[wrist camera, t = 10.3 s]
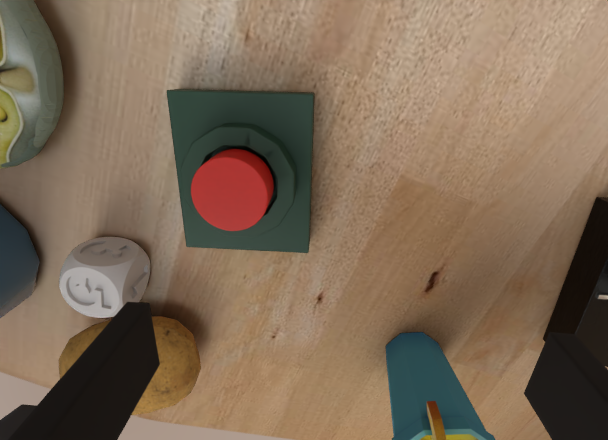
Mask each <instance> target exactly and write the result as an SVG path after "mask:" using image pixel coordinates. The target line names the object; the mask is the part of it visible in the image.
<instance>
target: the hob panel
mask: <svg viewBox="0 0 608 440" xmlns="http://www.w3.org/2000/svg"><path fill="white" fill-rule="evenodd" d="M549 332H554V333H567V334H575V335H576V337H577V338H578V339H579V340H580V341H581V342H582V343H583V344H584V345H585V346H586V347H587V348H588V349H589V350H590V351H591V353H592V354H593V355H594V356H595V357H596V358H597V359H598V360H599V361H600V362H601V363H602V364H603V365H604V366H608V198H606V197H597V198H596V200H595V203H594V205H593V208H592V211H591V213H590V216H589V219H588V221H587V224H586V227H585V229H584V232H583V234H582V237H581V240H580V242H579V245H578V248H577V250H576V253H575V256H574V258H573V261H572V263H571V266H570V269H569V271H568V274H567V277H566V279H565V282H564V285H563V287H562V290H561V292H560V295H559V298H558V300H557V303H556V306H555V308H554V311H553V314H552V316H551V319H550V321H549V324H548V327H547V329H546V332H545V335H544V337H543V340H544V341H545V342H546V340H547V337H548V335H549Z"/></svg>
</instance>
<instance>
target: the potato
mask: <svg viewBox="0 0 608 440" xmlns="http://www.w3.org/2000/svg"><path fill="white" fill-rule="evenodd" d="M110 321H111V320H109V321H105V322H102V323H99V324H96V325H93V326H91V327H89V328H87V329H85V330H84V331H82V332H80V333H78V334H77V335H75V336H74V337H72V338H71V339H70V340H69V341H68V343H67V345H66V347H65V349H64V350H63V352H62V354H61V356H60V358H59V373H60V379H61V378H62V376H63V375H64V374H65V373H66V372H67V371H68V370H69V368H70V367H71V366H72V365H73V364H74V363H75V361H76V360H77V359H78V358H79V357H80V356H81V354H82V353H83V352H84V351H85V350H86V349H87V348H88V346H89V345H90V344H91V343H92V342H93V341H94V339H95V338H96V337H97V336H98V335H99V334H100V332H101V331H102V330H103V329H104V328H105V327H106V326H107V324H108V323H109V322H110ZM152 321H153V327H154V333H155V339H156V344H157V350H158V356H159V361H160V365H159V367H158V369H157V370H156V372H155V374H154V376H153V377H152V379H151V381H150V383H149V384H148V386H147V388H146V390H145V392H144V393H143V395H142V397H141V399H140V400H139V402H138V404H137V406H136V407H135V409H134V411H133V413H132V414H131V415H135V414H145V413H150V412H153V411H156V410H159V409H162V408H166V407H170V406H173V405H175V404H176V403H178V402H179V401H181V400H182V399H183V398H185V397H186V396H187V395H188V394H189V393H191V391H192V389H193V387H194V385H195V383H196V381H197V378H198V375H199V372H200V369H201V366H200V358H199V353H198V350H197V346H196V343H195V340H194V337H193V334H192V333H191V332H190V331H189V330H188V329H186V328H185V327H184V326H183V325H182V324H181V323H180V322H179V321H177V320H175V319H170V318H166V317H161V316H155V317H152Z"/></svg>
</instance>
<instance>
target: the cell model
mask: <svg viewBox="0 0 608 440" xmlns="http://www.w3.org/2000/svg"><path fill="white" fill-rule="evenodd" d="M63 99H64V82H63V72H62V65H61V59H60V55H59V51H58V48H57V45H56V42H55V40H54V37H53V35H52V33H51V31H50V29H49V27H48V25H47V24H46V22H45V20H44V18H43V17H42V15H41V13H40V11H39V9H38V7H37V6H36V4H35V2H34V0H0V168H8V167H14V166H17V165H19V164H21V163H23V162H25V161H27V160H29V159H31V158H33V157H34V156H36V155H37V154H38V153H39V152H40V151H41V150H42V148H43V147H44V145H45V143H46V141H47V139H48V138H49V136H50V135H51V134H52V132H53V131H54V129H55V127H56V125H57V123H58V120H59V117H60V114H61V111H62V106H63Z"/></svg>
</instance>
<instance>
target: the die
mask: <svg viewBox="0 0 608 440" xmlns="http://www.w3.org/2000/svg"><path fill="white" fill-rule="evenodd" d="M149 276H150V260H149V257H148V256H147V254H146V253H145V251H144V250H143V249H142V248H141V247H140V246H139V245H137V244H136V243H134V242H133V241H131V240H128V239H125V238H120V237H101V238H95V239H91V240H88V241H86V242H83V243H81V244H80V245H78V246H77V247H75V248H74V249H73V250H72V251H71V253H70V254H69V255H68V257H67V258H66V260H65V262H64V264H63V266H62V269H61V273H60V278H59V287H60V291H61V293H62V296H63V298H64V299H65V301H66V302H67V303H68V304H69V305H70V306H71V307H72V308H73V309H75V310H76V311H78V312H80V313H82V314H84V315H87V316H90V317H96V318H107V317H113V316H115V315H116V314H117V313H118V312H119V310H120V309H121V308H122V307H123V306H124V305H125V304H126V302H139V301H140V299H141V298H142V296H143V294H144V292H145V290H146V287H147V284H148V280H149Z"/></svg>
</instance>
